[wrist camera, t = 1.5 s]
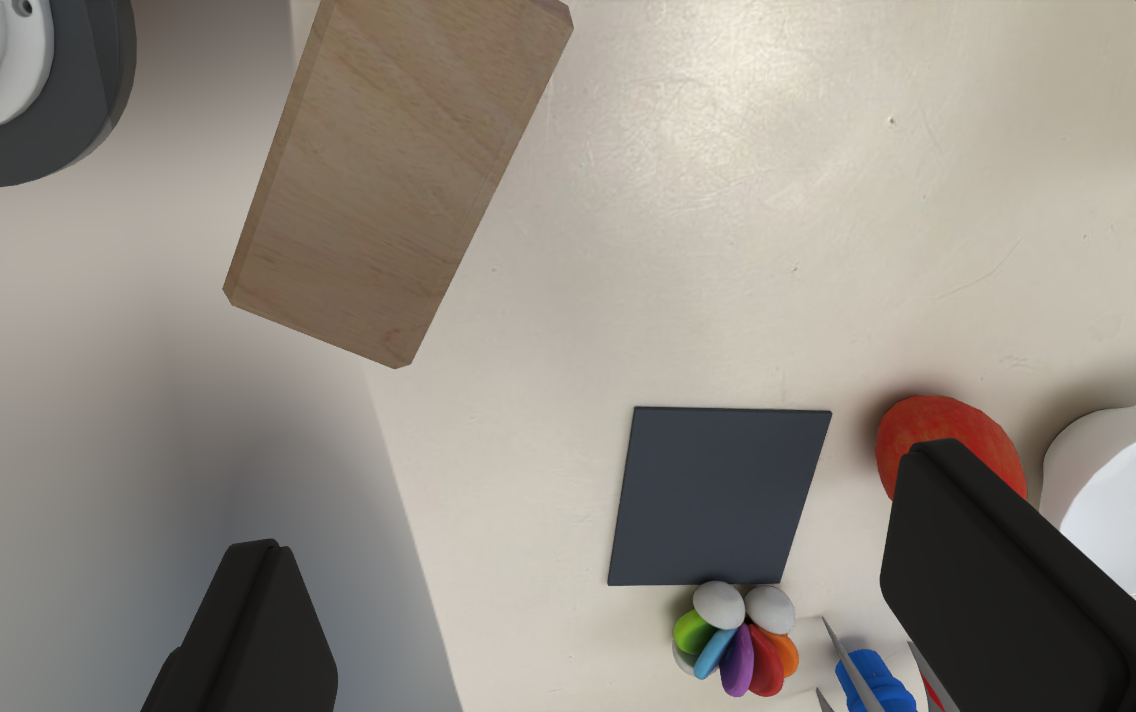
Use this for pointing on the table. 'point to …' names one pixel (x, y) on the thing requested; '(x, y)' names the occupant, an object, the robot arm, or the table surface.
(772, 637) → the rainbow petal flower
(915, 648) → the toy rocket
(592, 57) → the table surface
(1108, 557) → the bowl
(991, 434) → the apple
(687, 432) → the mat
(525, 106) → the decorative block
